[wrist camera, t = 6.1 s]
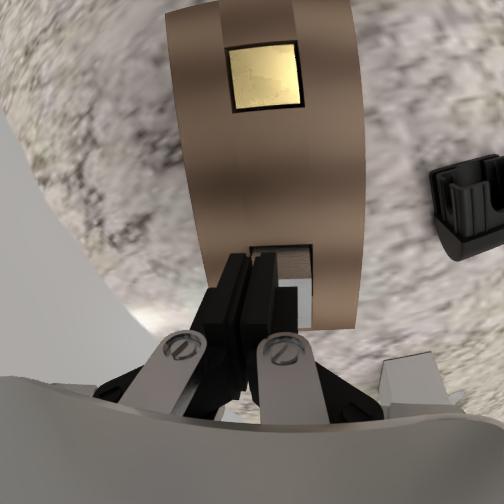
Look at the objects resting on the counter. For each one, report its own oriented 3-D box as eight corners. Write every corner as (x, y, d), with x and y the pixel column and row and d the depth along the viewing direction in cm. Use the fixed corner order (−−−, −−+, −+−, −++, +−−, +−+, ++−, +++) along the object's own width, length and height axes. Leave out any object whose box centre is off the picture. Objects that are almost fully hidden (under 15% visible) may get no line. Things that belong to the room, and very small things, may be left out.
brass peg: (242, 62, 20) (229, 51, 15) (292, 58, 19) (293, 44, 15) (248, 108, 22) (236, 108, 17) (297, 104, 21) (300, 103, 16)
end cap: (433, 239, 25) (462, 275, 19) (423, 172, 23) (458, 195, 17) (504, 215, 23) (539, 243, 17) (499, 152, 20) (541, 169, 14)
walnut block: (192, 31, 19) (164, 13, 14) (335, 16, 17) (347, -8, 12) (231, 292, 31) (218, 330, 26) (346, 289, 29) (354, 328, 24)
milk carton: (421, 381, 35) (447, 493, 19) (377, 390, 37) (392, 508, 20) (431, 350, 32) (469, 475, 15) (383, 360, 34) (407, 495, 17)
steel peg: (255, 240, 23) (245, 280, 18) (308, 238, 22) (311, 278, 17) (260, 284, 25) (252, 328, 20) (308, 282, 24) (311, 328, 19)
